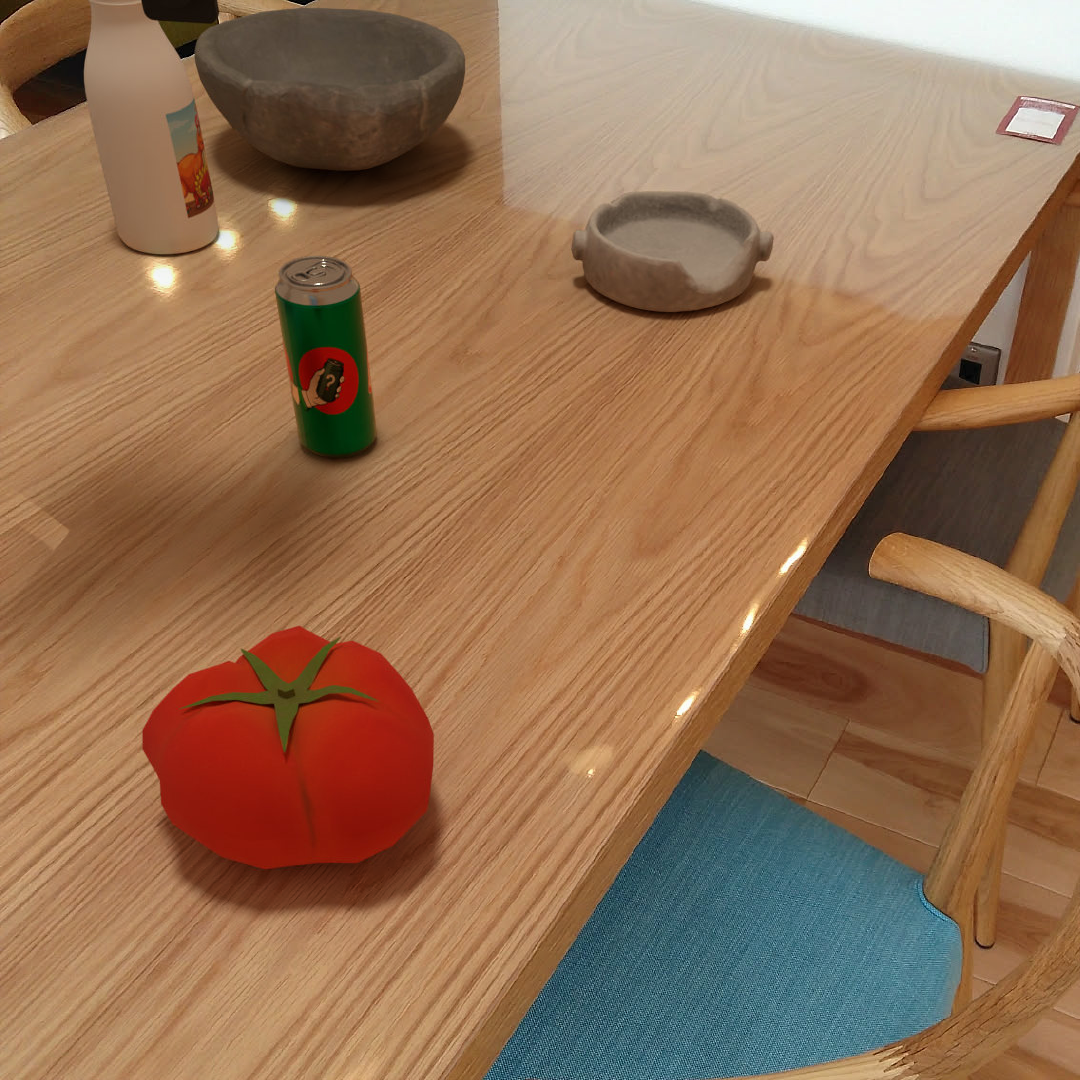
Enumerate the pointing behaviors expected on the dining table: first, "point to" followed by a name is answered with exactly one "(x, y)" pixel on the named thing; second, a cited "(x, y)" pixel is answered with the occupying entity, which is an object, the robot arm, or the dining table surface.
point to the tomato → (293, 753)
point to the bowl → (331, 83)
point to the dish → (670, 250)
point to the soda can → (326, 355)
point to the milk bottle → (147, 132)
